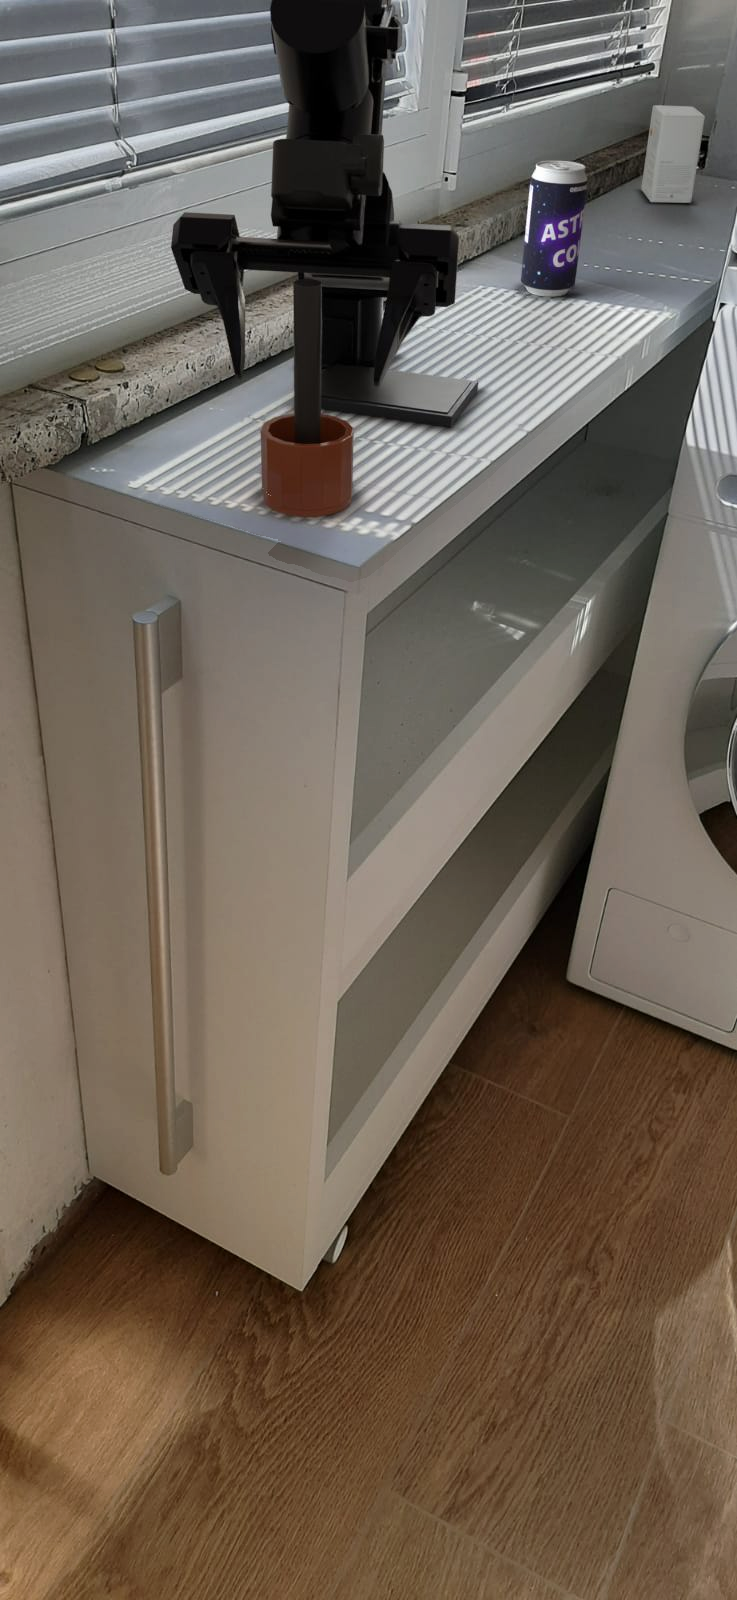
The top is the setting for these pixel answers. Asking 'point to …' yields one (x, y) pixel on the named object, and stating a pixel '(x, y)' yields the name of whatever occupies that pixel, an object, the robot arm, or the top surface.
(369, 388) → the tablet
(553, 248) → the beverage can
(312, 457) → the pencil cup
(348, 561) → the top surface
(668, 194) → the small box
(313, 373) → the stylus
